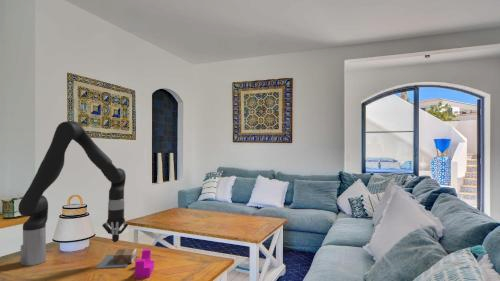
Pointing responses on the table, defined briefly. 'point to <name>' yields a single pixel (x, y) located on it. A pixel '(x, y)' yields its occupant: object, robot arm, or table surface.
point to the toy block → (144, 265)
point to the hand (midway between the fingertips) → (115, 241)
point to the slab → (124, 256)
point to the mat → (110, 263)
